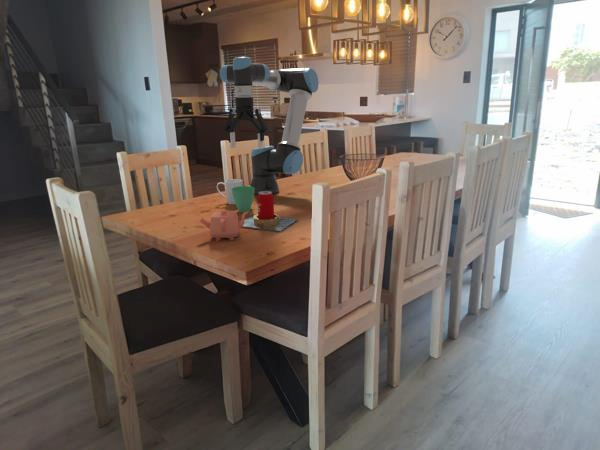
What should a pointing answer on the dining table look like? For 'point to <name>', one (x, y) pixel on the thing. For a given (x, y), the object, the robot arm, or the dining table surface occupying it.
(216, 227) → the teapot
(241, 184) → the mug
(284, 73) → the robot arm
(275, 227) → the grey can holder
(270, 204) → the beverage can
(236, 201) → the mug
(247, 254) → the dining table surface
